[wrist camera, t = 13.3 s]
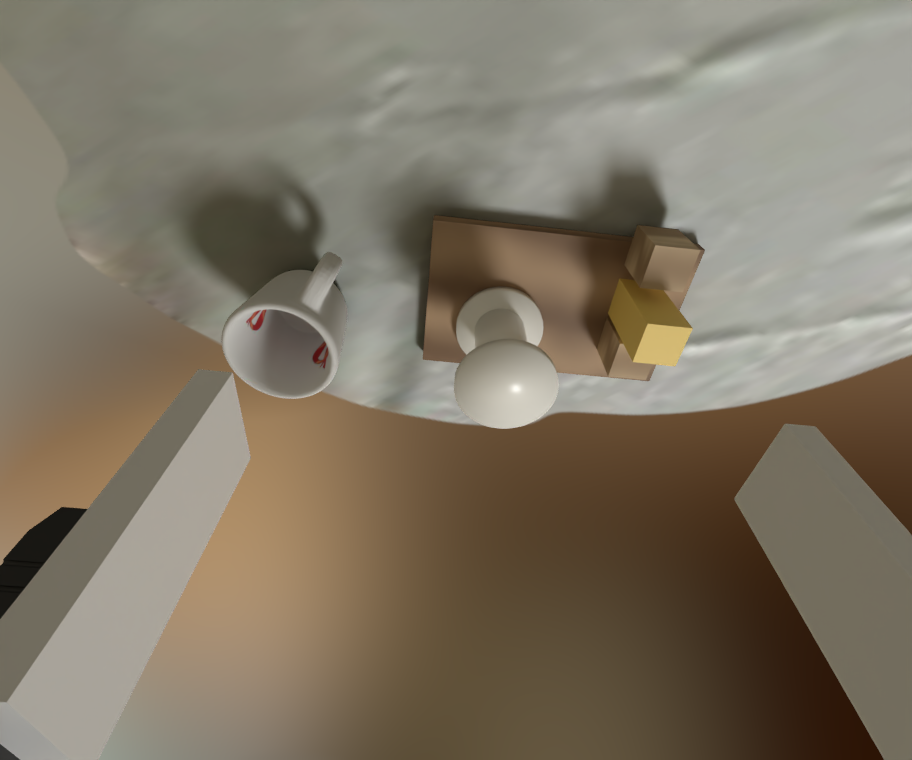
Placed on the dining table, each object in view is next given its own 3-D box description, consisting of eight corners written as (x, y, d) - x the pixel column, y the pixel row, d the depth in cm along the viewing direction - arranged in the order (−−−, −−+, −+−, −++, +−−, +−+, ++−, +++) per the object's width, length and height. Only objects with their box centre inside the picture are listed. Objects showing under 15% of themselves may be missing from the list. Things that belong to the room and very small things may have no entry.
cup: (298, 204, 35) (259, 244, 28) (392, 264, 37) (377, 312, 31) (246, 313, 40) (204, 366, 34) (332, 358, 43) (308, 416, 36)
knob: (461, 282, 37) (460, 340, 30) (550, 291, 37) (570, 350, 30) (452, 357, 41) (449, 423, 34) (532, 365, 41) (546, 432, 34)
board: (435, 197, 34) (431, 220, 30) (705, 227, 35) (737, 254, 31) (423, 351, 42) (419, 387, 38) (645, 373, 43) (664, 410, 39)
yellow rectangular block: (619, 278, 36) (647, 323, 31) (657, 282, 37) (692, 328, 31) (607, 313, 38) (632, 362, 33) (644, 317, 38) (675, 366, 33)
